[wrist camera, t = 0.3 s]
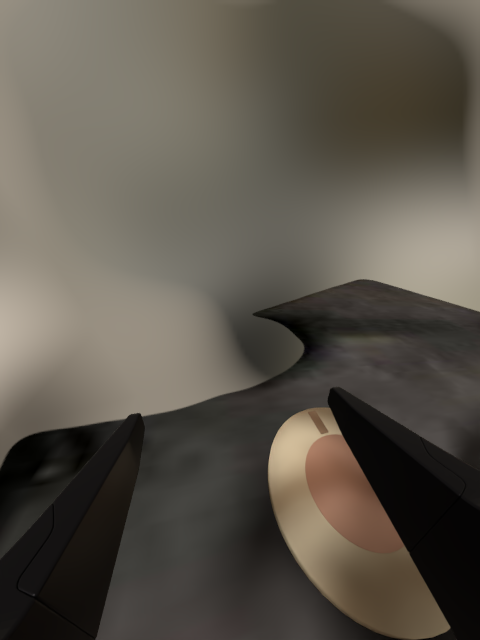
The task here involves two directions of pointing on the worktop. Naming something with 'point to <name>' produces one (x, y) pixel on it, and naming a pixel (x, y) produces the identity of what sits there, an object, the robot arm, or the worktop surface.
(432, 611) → the turntable
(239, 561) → the worktop surface
